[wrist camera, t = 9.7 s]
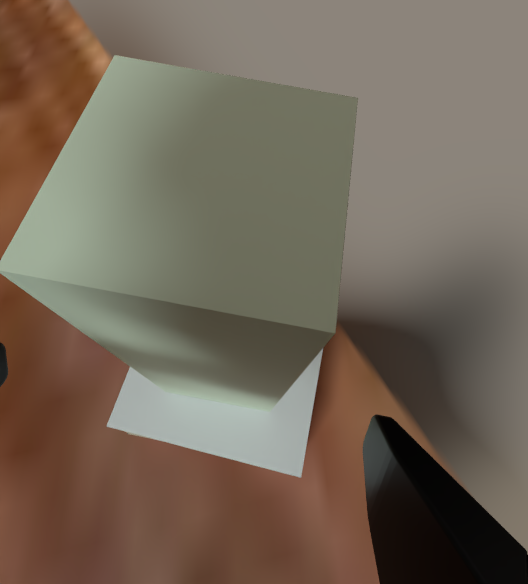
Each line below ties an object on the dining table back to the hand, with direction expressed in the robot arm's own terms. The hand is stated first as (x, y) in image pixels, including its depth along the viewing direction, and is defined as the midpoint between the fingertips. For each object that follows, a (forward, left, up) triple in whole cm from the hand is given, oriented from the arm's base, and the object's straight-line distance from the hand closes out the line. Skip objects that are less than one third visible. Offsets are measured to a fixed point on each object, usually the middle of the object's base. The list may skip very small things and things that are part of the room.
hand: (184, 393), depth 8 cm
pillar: (+3, 0, -8) cm, 9 cm away
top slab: (+3, 0, -11) cm, 11 cm away
